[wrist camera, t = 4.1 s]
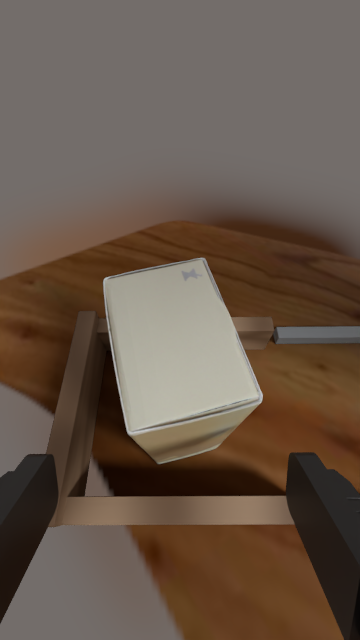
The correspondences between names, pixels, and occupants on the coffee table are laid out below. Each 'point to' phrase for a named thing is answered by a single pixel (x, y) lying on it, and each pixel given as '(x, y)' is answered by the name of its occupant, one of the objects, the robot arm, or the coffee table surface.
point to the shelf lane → (77, 437)
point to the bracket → (317, 335)
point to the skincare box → (177, 359)
